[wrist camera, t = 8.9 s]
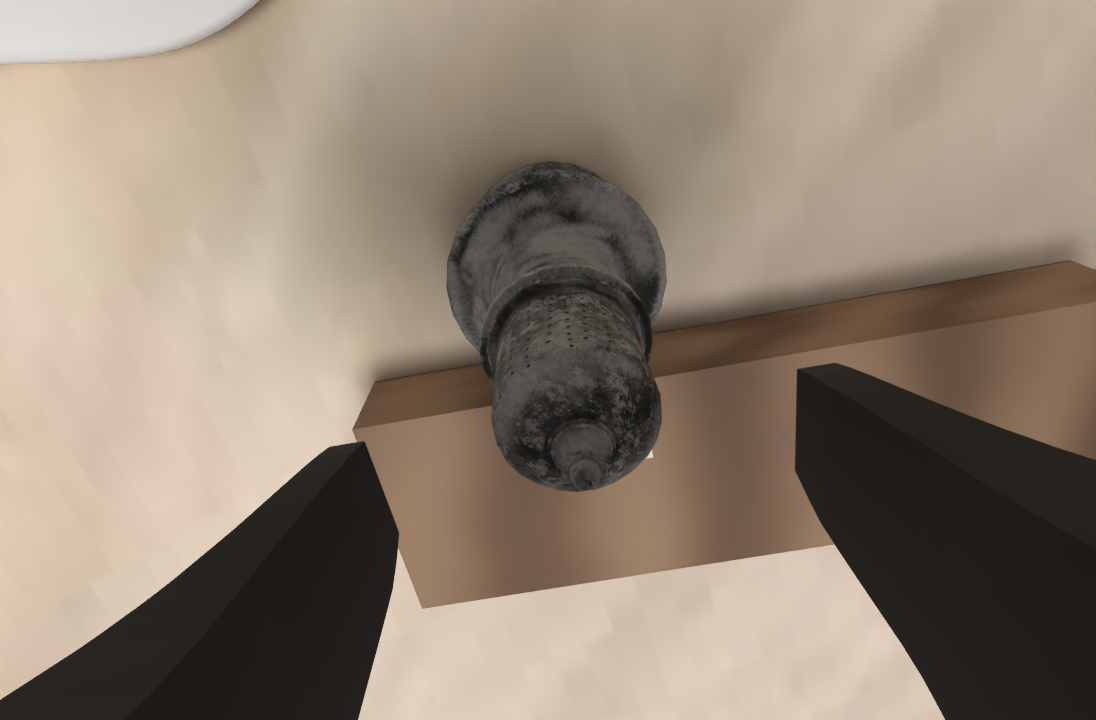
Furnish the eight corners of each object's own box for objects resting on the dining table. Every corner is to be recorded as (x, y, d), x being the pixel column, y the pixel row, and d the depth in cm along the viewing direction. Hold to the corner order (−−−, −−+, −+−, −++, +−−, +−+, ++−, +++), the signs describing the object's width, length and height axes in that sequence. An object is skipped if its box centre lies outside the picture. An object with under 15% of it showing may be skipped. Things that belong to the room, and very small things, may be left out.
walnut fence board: (1070, 261, 20) (1170, 296, 17) (1025, 453, 23) (1100, 512, 20) (374, 382, 21) (349, 437, 18) (433, 548, 24) (420, 617, 21)
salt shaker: (431, 184, 18) (292, 363, 7) (620, 125, 17) (774, 226, 7) (493, 351, 20) (459, 666, 10) (658, 304, 20) (816, 584, 9)
